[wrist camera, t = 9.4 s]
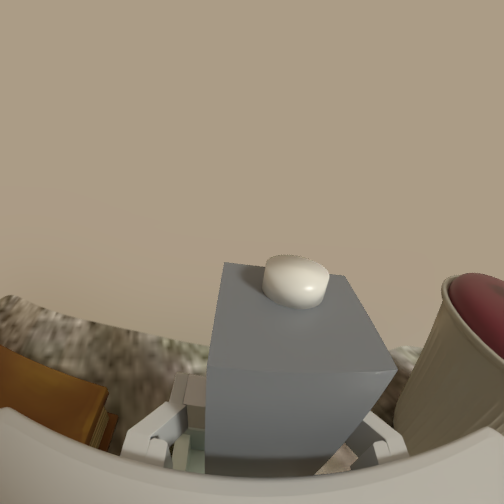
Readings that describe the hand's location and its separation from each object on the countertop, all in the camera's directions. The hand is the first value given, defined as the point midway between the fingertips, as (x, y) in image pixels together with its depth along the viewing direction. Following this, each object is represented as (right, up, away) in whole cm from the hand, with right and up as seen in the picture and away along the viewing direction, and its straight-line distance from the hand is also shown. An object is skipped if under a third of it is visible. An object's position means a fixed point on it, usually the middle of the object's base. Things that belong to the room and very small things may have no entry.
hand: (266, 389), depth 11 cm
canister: (+20, -15, +10) cm, 28 cm away
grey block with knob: (-1, -7, +2) cm, 7 cm away
